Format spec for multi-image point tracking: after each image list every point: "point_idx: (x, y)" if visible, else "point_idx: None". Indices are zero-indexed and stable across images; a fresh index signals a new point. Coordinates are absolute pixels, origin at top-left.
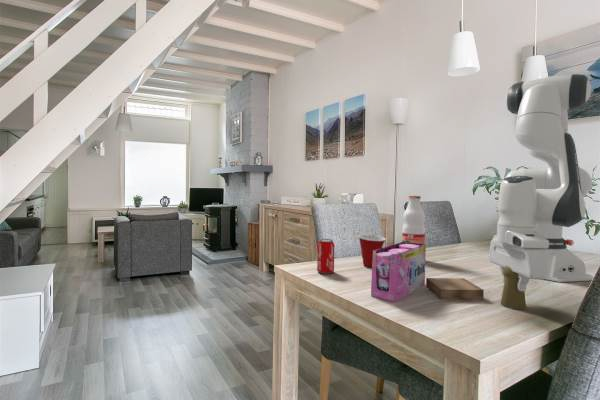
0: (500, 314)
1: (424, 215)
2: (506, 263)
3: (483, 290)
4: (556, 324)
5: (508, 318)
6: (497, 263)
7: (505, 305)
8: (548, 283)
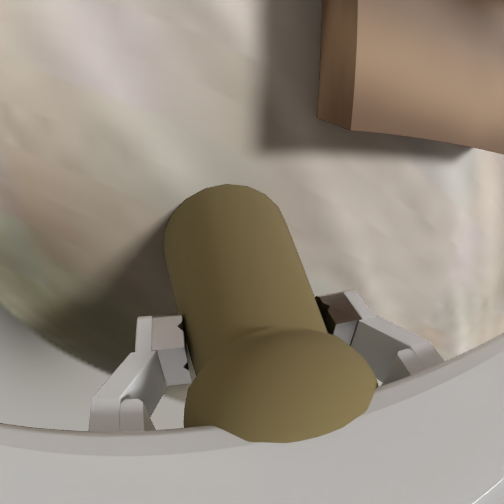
0: (67, 108)
1: None
2: (359, 454)
3: (347, 127)
4: (15, 307)
5: (17, 131)
6: (475, 360)
7: (200, 196)
8: None
